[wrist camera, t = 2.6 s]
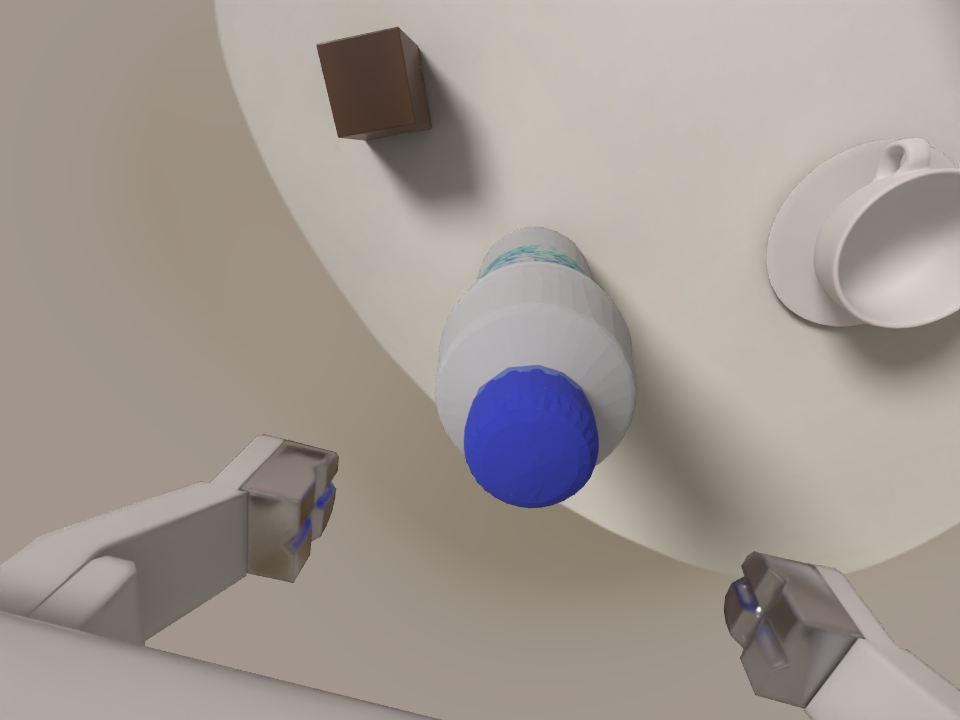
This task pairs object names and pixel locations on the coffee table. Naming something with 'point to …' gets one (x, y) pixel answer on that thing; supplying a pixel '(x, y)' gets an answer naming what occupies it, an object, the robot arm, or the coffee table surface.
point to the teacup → (871, 238)
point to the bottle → (535, 371)
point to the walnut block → (375, 85)
